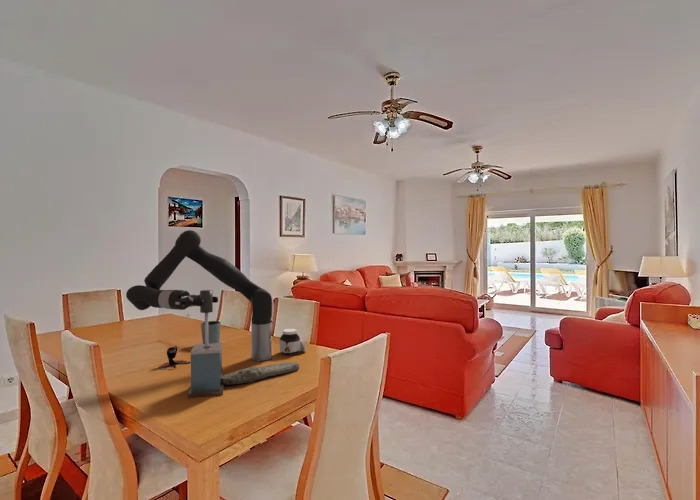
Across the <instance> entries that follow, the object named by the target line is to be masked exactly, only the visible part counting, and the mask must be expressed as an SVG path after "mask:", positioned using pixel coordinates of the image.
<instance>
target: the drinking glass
mask: <svg viewBox="0 0 700 500" xmlns="http://www.w3.org/2000/svg"><path fill="white" fill-rule="evenodd" d="M200 328H201V329H200V331H201V339H202V344H205V321H203V322H201V323H200ZM220 336H221V321H218V320H208V344H212V343H221V342H220V341H221V340H220V339H221V337H220Z"/></svg>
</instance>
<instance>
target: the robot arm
mask: <svg viewBox="0 0 700 500" xmlns="http://www.w3.org/2000/svg"><path fill="white" fill-rule="evenodd" d="M201 242H202V241H201V236H200V235H199V232H197V231H195V230H192V229H189V230H184V231H183V232H181V233H180V234H179V236H178V237H177V238H176V240H175V242H174V243H175V245H173V247H172V248H171V250H170V251H169V252H168V253H167V254H166V255H165V256H164V258H162V259H161V261H159V263H158V264H156V265H155V267H154V268H153V269H152V270H151V271H150V272H149V273H148V274H147V275H146V277H145V278H144V280H143V281H144V284H145V285H141V284H139V285H133V286H131V287H129V288H128V290H127V291H126V294H125V295H126V299H127V300H128V302H130V303H131V304H132V305H133V306H134V307H135V308H136V309H137V310H139V311H145V310H148V309H149V308H150V307H152V308H159V309H165V310H167V309H168V310H179V311H184V310H186V309H188V308H191V307H192V308H193V307H200V306H204V300H200V293H199V294H190V292H189V291H187V290H184V289H161V288H162V286H163V285H165V283H166V282H167V281H168V280H169V279H170V277H171V276H172V274H173V273H174V272H175V271H176V269H177V268H178V267H179V265H180V264H181V263H182V261H183V260H184V259H185V258H188V259H189V260H192V261H193V262H195V263H196V264H198V265H199V266H201V268H203V269H204V270H205V271H207V272H208V273H210V274H211V275H212V276H213V277H215V278H216V279H217V280H219V281H220V282H222V283H223V284H224V285H226V286H228V287H229V288H231V289H233V290H235V291H237V292H239V294H240V295H241V294H242V296H243V297H245V298H246V299H247V300H248V301H249V302H250V303H251V318H250V319H251V320H250V321H251V322H250V323H251V360H252V361H255V362H263V361H269V360H272V355H273V354H272V316H273V298H272V295H271V293H270V292H269V291H268V290H266V289H264V288H262V287H260V286H259V285H257V284H255V282H253V281H251V280H250V279H249V278H248V277H247V276H246V275H245V274H244V273H243V272H242V271H241V270H240V269H239V268H237V267H236V266H235V265H234V264H233V263H231V262H230V261H229V260H227V259H225V258H223V257H220V256H218V255H216V254H213V253H211V252H208V251H207V250H205V249H204V248H203V247H202V246H201ZM218 302H219V297H218V296H213V303H218Z"/></svg>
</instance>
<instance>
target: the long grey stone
mask: <svg viewBox="0 0 700 500" xmlns="http://www.w3.org/2000/svg"><path fill="white" fill-rule="evenodd" d="M299 369H300V365H299V362H298V361H290V362H289V361H285V362H281V363H275V364H269V365H265V366H254V365H253V366H250V367H247V368H246V367H245V368H242V369H238V370H236V371H233V372H232V371H231V372H230V373H227V374H224V375H223V374H222V379H221V380H222V381H221V382H222V383H224V384H225V385H238V384H239V385H241V384H246V383H253V382H255V381H258V380H262V379H266V378H268V377H273V376H274V377H275V376H278V375H281V374H289V373H292V372H295V371H298V370H299Z"/></svg>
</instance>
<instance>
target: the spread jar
mask: <svg viewBox="0 0 700 500" xmlns="http://www.w3.org/2000/svg"><path fill="white" fill-rule="evenodd" d="M297 331H298V330H297V329H296V328H285V329H283V330H282V334H281V336H280V337H279V340H278V341H279V343H278V344H279V345H278V346H279V351H280V353H281V354H282V355H284V354H285V356H294V355H296V354H298V353H299V352H300V351H301V350H302V351H301V352H303V351H304V352H306V351H307V344H306V342H305V341H304V339H302V338H300V335H298V332H297ZM293 354H294V355H293Z"/></svg>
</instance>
